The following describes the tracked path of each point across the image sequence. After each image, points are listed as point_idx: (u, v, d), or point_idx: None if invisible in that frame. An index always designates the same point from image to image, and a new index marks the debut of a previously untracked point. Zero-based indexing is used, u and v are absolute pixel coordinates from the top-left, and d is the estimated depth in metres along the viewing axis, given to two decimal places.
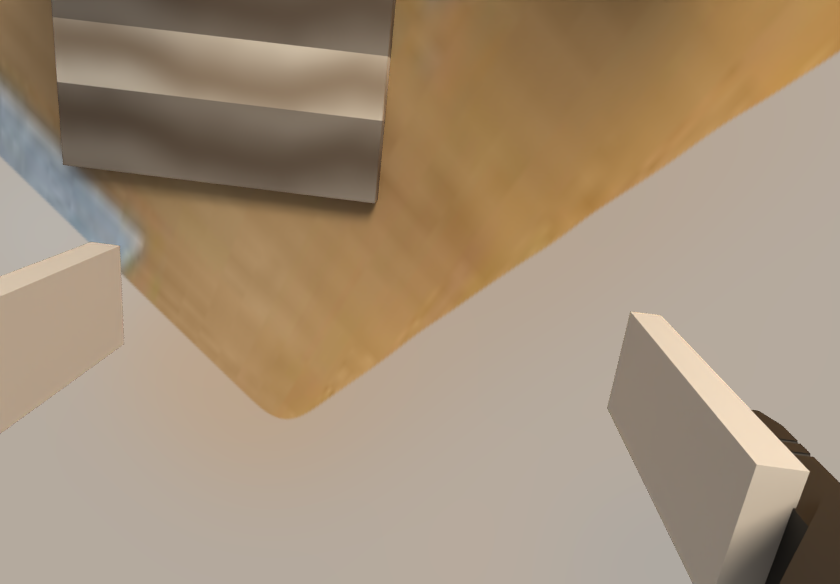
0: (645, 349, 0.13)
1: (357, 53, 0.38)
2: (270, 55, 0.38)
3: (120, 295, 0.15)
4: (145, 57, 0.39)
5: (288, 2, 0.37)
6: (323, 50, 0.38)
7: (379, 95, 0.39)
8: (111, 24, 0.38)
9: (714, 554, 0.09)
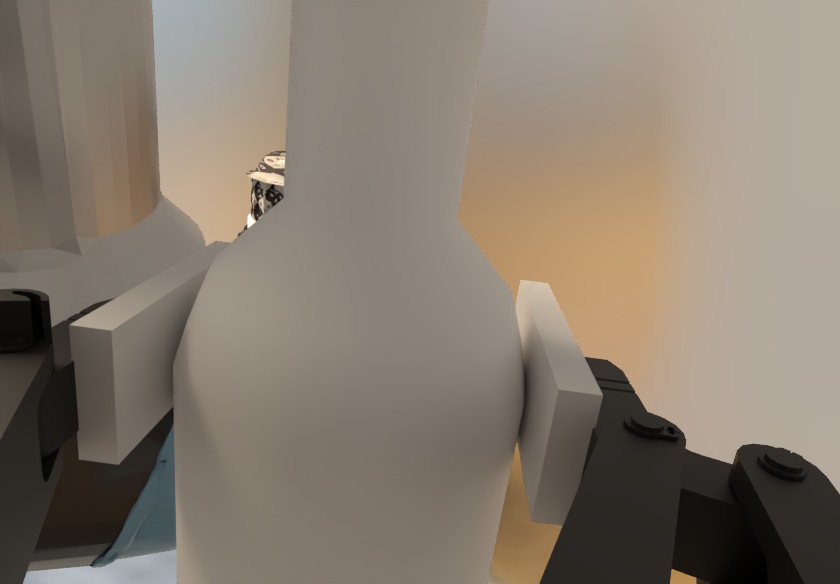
0: (523, 310, 0.15)
1: None
2: None
3: None
4: None
5: None
6: None
7: None
8: None
9: (537, 471, 0.11)
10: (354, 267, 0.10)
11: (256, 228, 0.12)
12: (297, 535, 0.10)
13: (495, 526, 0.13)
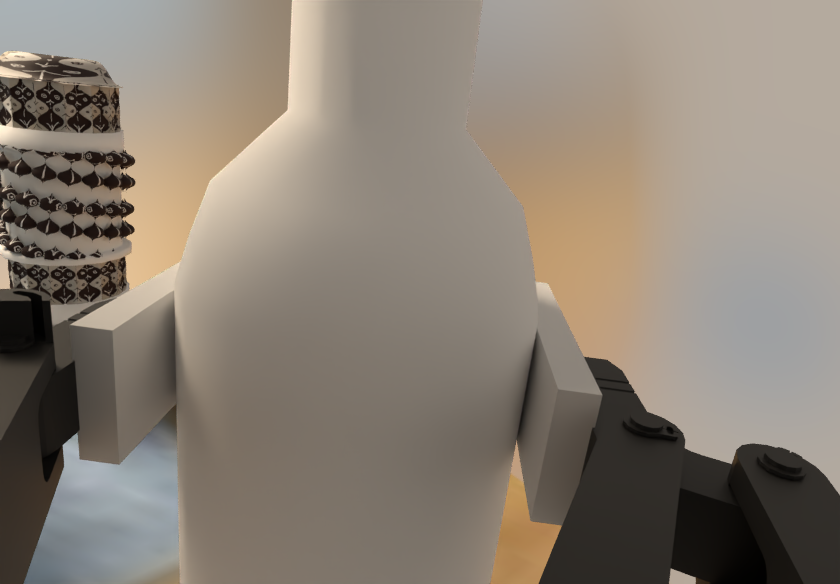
0: None
1: None
2: None
3: None
4: None
5: None
6: None
7: None
8: None
9: (537, 471, 0.11)
10: (364, 159, 0.10)
11: (260, 135, 0.11)
12: (306, 439, 0.10)
13: (510, 451, 0.13)
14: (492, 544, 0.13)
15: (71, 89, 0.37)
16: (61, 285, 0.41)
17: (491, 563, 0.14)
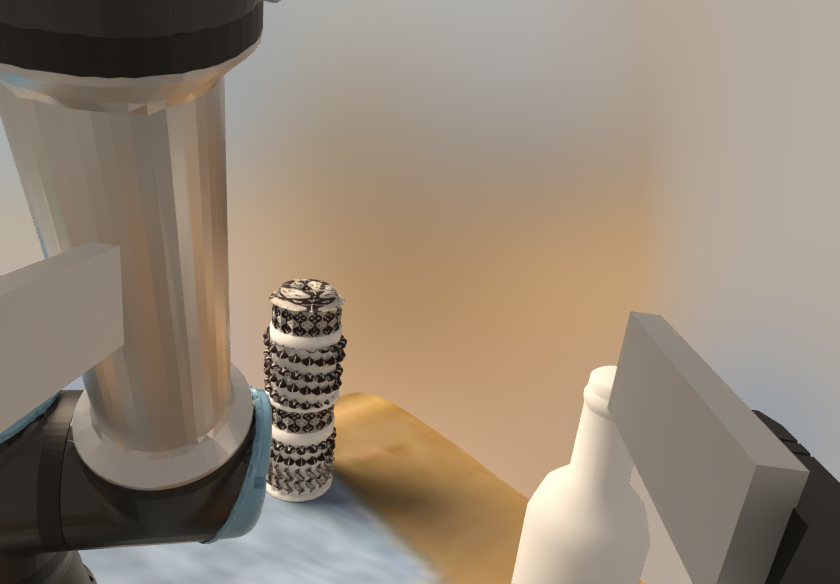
0: (645, 349, 0.13)
1: None
2: None
3: (120, 295, 0.15)
4: None
5: None
6: None
7: None
8: None
9: (714, 554, 0.09)
10: (606, 509, 0.35)
11: (565, 488, 0.36)
12: None
13: (638, 583, 0.38)
14: None
15: (326, 313, 0.63)
16: (307, 422, 0.66)
17: None
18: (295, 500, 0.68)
